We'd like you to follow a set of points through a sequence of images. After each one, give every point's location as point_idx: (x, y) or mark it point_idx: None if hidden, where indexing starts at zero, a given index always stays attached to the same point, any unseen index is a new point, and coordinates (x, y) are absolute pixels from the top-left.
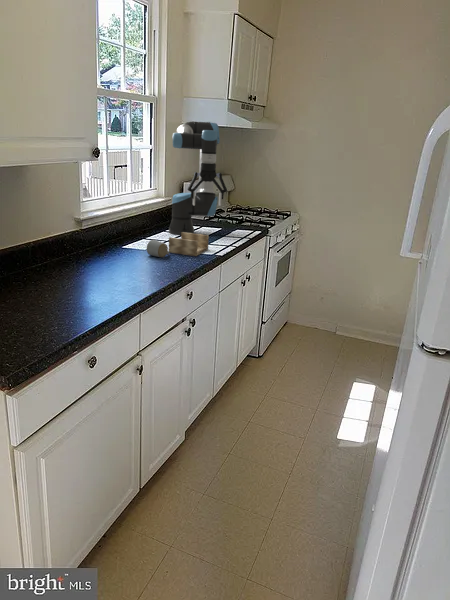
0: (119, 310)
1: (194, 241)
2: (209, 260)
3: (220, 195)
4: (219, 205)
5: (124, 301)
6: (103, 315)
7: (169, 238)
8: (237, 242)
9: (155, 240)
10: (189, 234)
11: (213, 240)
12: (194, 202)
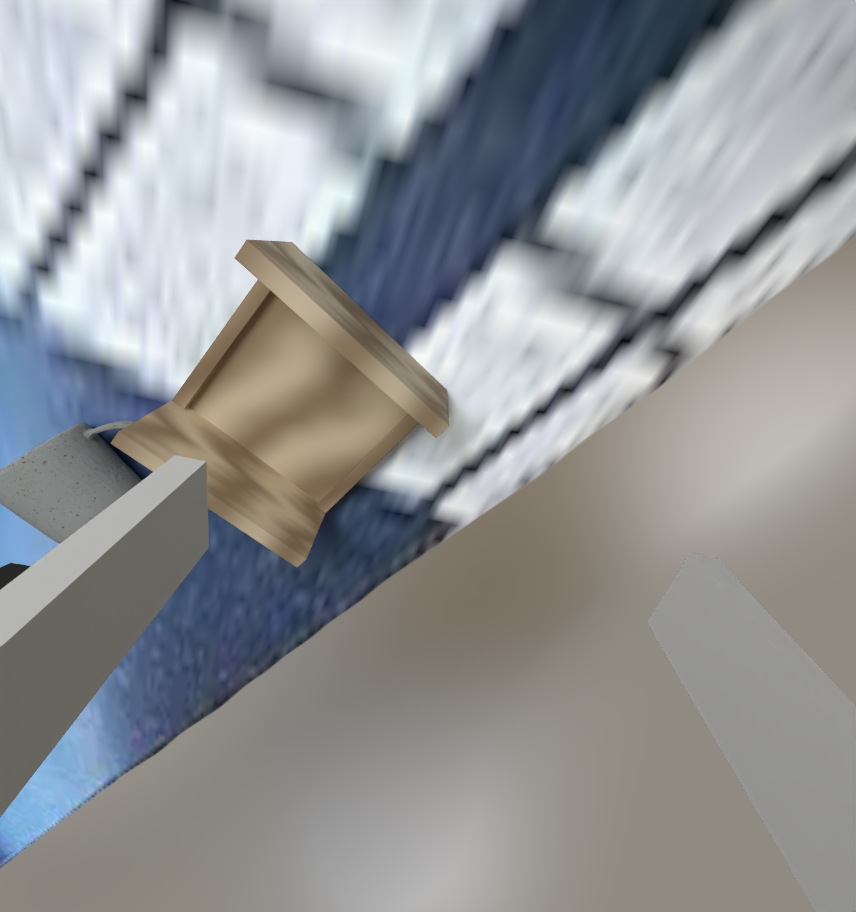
0: (45, 824)
1: (285, 557)
2: (363, 584)
3: (794, 860)
4: (657, 617)
5: (47, 799)
6: (18, 832)
7: (118, 444)
8: (800, 218)
9: (16, 496)
10: (308, 320)
11: (652, 66)
12: (164, 586)
